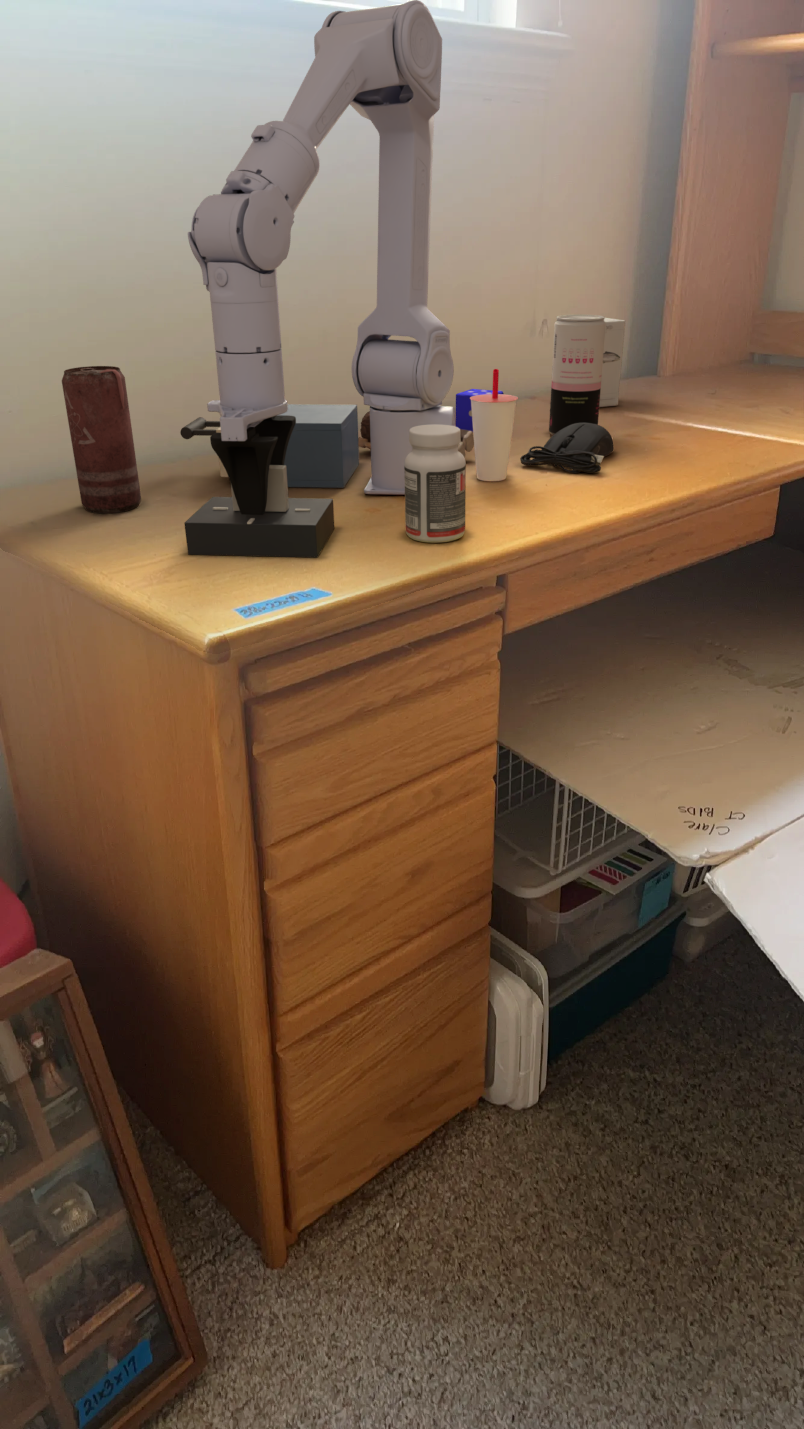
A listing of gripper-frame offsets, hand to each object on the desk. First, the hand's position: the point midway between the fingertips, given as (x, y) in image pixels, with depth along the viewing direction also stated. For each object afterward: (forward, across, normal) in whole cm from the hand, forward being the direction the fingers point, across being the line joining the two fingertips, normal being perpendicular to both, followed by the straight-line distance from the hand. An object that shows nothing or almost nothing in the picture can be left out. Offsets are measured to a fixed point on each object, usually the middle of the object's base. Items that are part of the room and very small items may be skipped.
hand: (260, 504), depth 91 cm
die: (+4, -54, +18) cm, 57 cm away
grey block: (0, 0, 0) cm, 0 cm away
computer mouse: (+4, -36, +31) cm, 48 cm away
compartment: (+3, -26, -2) cm, 26 cm away
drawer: (+3, -26, -7) cm, 27 cm away
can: (+4, -11, -19) cm, 22 cm away
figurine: (+4, -38, +11) cm, 40 cm away
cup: (+4, -26, +21) cm, 33 cm away
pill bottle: (+4, -3, +16) cm, 17 cm away
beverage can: (+4, -51, +31) cm, 60 cm away
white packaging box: (+4, -74, +34) cm, 82 cm away
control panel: (+3, 0, 0) cm, 3 cm away
